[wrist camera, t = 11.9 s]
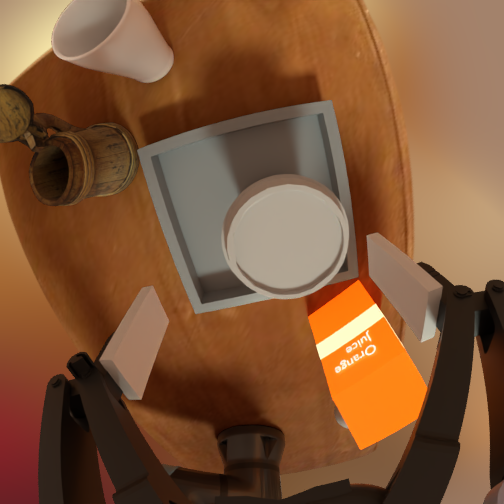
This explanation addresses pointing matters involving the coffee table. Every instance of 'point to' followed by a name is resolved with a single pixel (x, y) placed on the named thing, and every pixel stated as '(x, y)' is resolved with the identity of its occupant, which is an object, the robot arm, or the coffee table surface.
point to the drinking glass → (112, 39)
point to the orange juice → (366, 366)
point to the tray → (238, 189)
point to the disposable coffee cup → (285, 236)
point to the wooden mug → (68, 152)
